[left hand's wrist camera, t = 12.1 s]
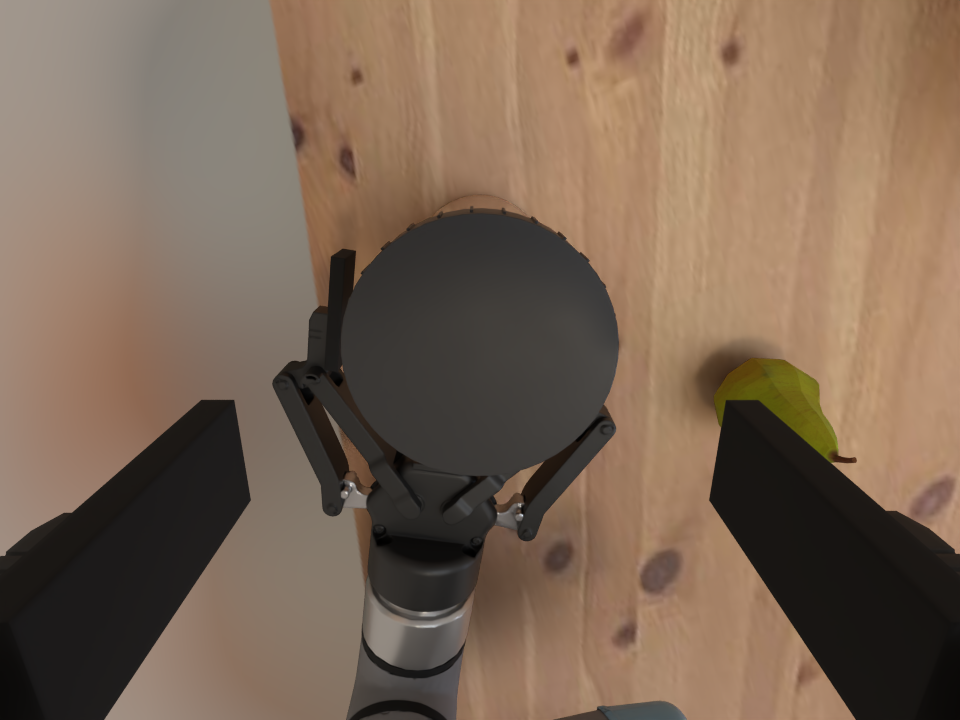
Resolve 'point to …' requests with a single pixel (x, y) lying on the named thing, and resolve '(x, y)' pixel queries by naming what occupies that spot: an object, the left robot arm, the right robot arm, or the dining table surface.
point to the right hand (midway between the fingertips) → (466, 271)
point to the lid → (479, 342)
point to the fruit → (783, 400)
